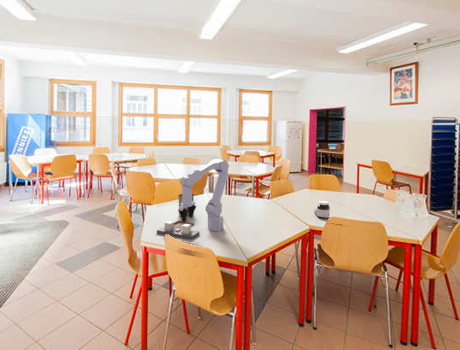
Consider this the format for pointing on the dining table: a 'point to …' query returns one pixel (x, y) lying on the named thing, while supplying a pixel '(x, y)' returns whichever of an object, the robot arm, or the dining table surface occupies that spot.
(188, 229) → the white plug
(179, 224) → the tray
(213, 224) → the robot arm
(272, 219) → the dining table surface
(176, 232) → the power strip
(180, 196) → the coffee box
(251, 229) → the dining table surface
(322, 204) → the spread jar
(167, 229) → the seated plug
